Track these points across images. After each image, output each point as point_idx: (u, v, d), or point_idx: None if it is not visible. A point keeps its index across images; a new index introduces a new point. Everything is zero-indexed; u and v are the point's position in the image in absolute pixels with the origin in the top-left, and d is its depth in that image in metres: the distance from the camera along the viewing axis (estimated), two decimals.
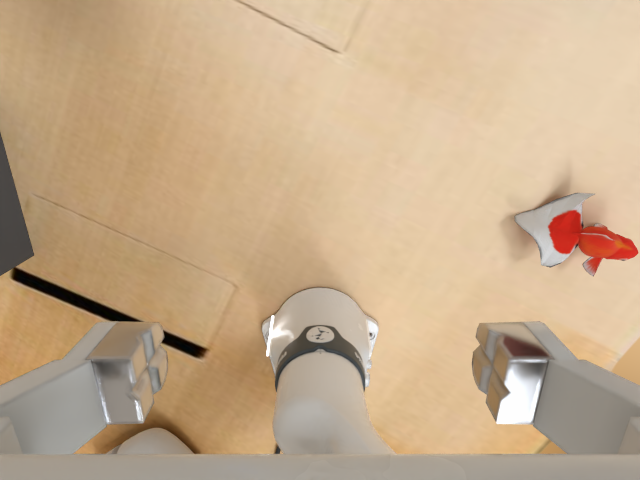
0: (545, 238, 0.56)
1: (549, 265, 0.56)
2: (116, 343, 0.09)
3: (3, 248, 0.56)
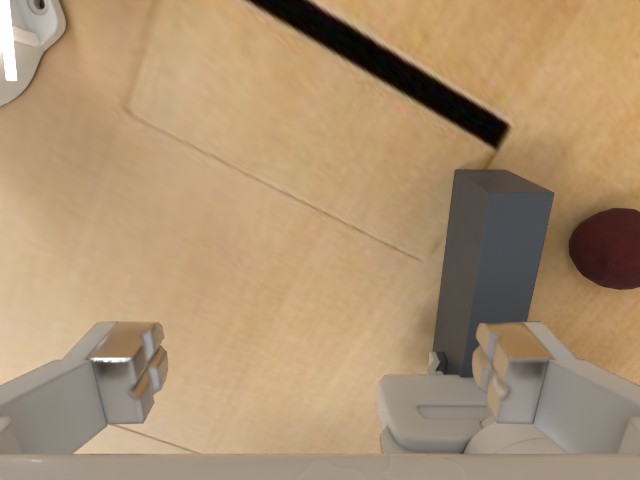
0: None
1: None
2: (116, 343, 0.09)
3: (468, 219, 0.35)
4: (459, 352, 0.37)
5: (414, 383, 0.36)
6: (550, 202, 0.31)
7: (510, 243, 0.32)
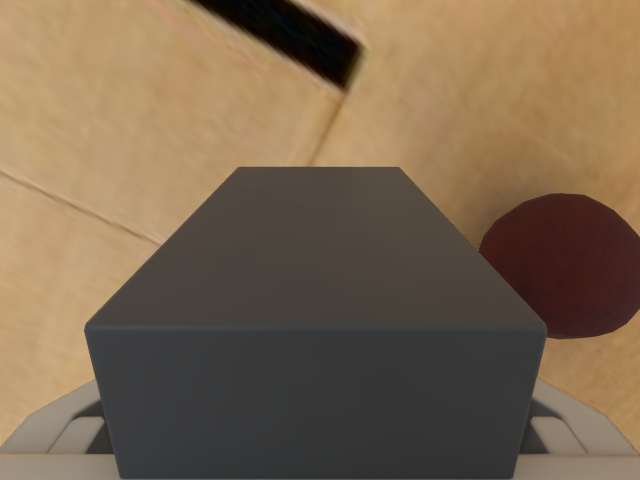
0: None
1: None
2: None
3: None
4: None
5: None
6: (521, 387, 0.04)
7: None
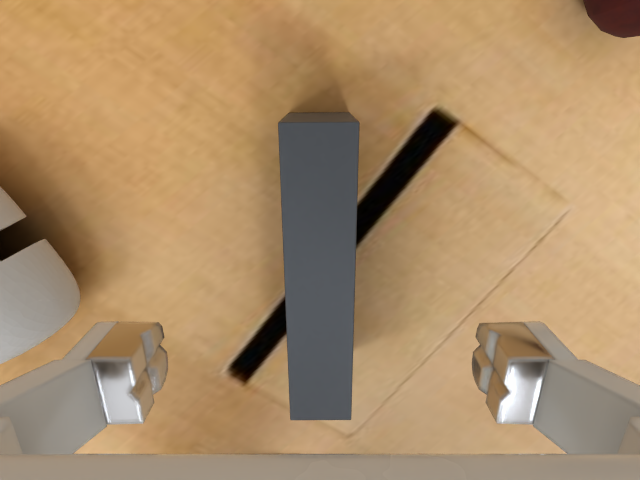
0: None
1: None
2: (116, 343, 0.09)
3: None
4: None
5: None
6: (356, 135, 0.25)
7: (316, 188, 0.26)
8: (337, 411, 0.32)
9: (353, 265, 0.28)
